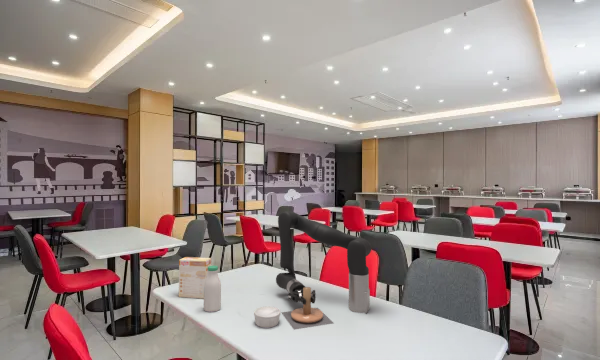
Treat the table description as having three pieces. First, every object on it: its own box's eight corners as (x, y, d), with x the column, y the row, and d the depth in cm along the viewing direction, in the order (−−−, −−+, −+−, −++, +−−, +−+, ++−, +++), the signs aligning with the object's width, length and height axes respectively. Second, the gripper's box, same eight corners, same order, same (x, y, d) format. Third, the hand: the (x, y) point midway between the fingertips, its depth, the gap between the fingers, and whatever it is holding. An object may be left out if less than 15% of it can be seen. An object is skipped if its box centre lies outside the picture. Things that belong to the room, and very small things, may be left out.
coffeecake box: (211, 294, 170) (211, 257, 171) (205, 299, 163) (205, 260, 164) (185, 292, 173) (185, 256, 173) (178, 297, 166) (178, 259, 166)
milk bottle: (224, 309, 151) (224, 266, 151) (209, 313, 145) (210, 269, 146) (215, 304, 156) (215, 263, 156) (200, 309, 151) (201, 266, 151)
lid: (327, 312, 145) (327, 285, 145) (315, 325, 132) (316, 295, 132) (299, 307, 150) (299, 281, 151) (285, 318, 138) (285, 290, 138)
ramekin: (279, 330, 130) (279, 317, 130) (251, 329, 130) (251, 316, 130) (281, 318, 141) (281, 306, 141) (256, 318, 142) (256, 306, 142)
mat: (317, 308, 153) (317, 307, 153) (334, 324, 136) (334, 323, 136) (281, 313, 147) (281, 312, 147) (293, 330, 130) (293, 329, 130)
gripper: (282, 283, 152) (294, 295, 136) (309, 280, 157) (324, 291, 141) (282, 298, 152) (294, 312, 136) (309, 295, 157) (324, 308, 141)
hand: (309, 301), depth 139 cm, fingers closed on lid, 3 cm apart
